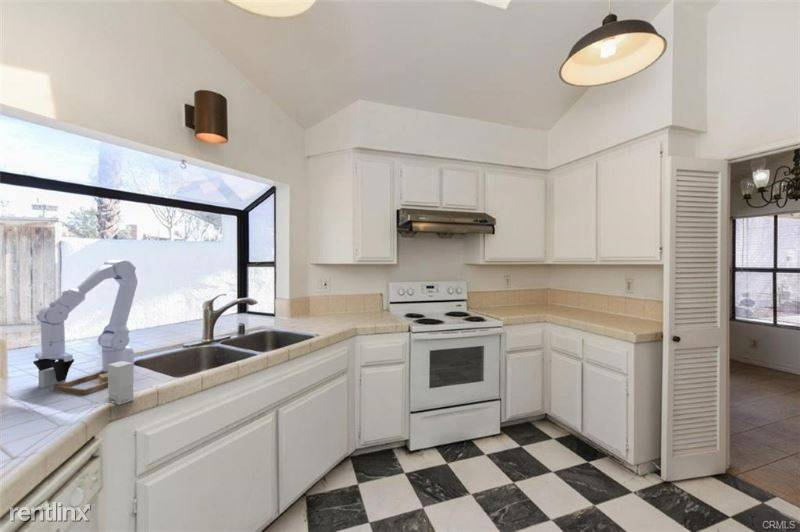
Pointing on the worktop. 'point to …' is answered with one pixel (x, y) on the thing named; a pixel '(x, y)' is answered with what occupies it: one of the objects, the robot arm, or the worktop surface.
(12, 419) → the worktop surface
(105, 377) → the offcut short
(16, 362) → the worktop surface
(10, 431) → the worktop surface
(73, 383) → the frame
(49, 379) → the pale grey rectangular prism
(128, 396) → the skincare box
